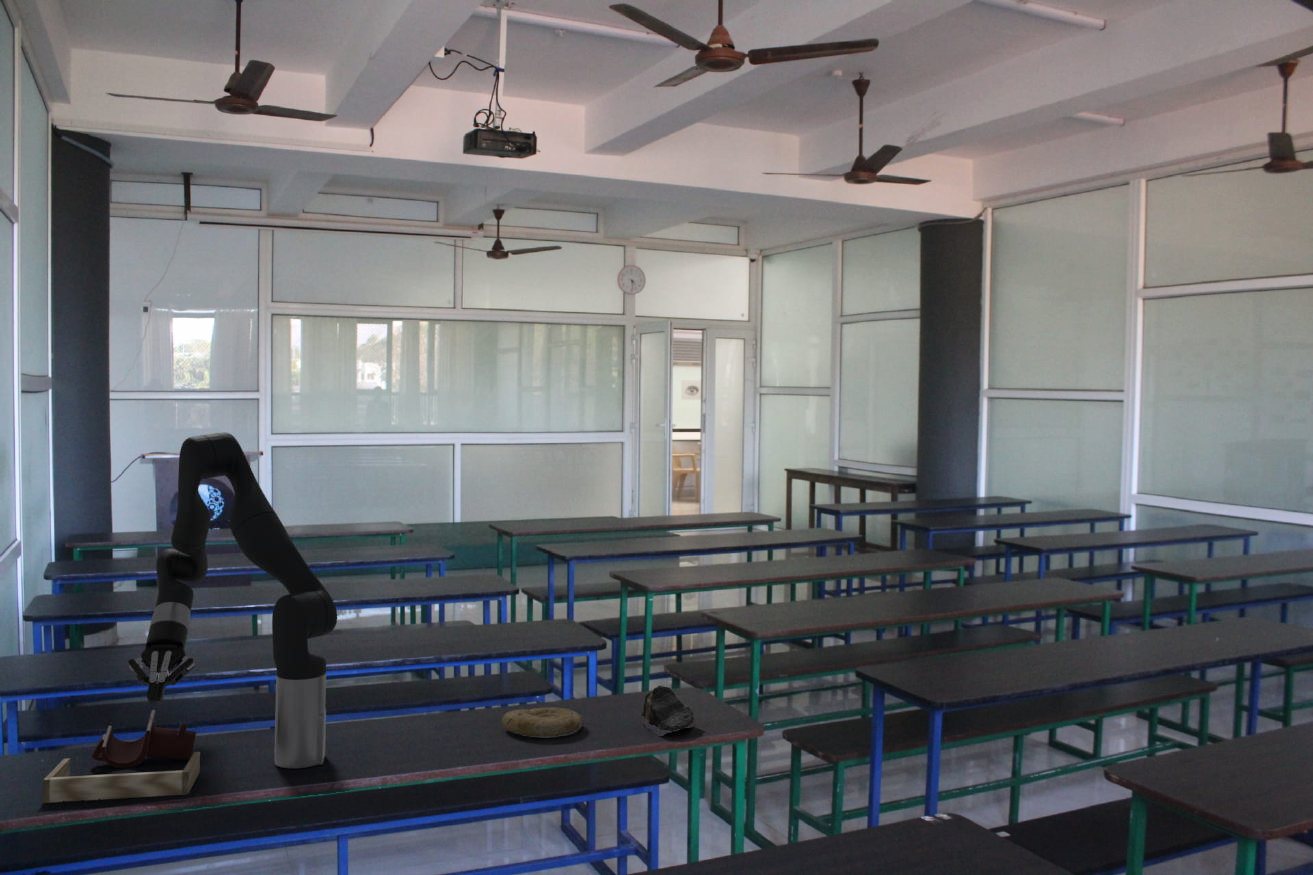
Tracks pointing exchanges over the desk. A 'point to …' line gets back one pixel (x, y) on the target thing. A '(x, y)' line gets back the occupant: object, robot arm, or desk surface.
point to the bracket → (146, 745)
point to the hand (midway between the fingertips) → (153, 702)
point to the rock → (666, 710)
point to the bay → (118, 783)
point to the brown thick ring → (542, 721)
